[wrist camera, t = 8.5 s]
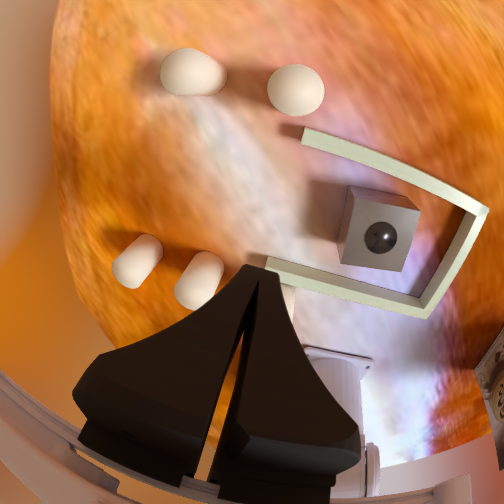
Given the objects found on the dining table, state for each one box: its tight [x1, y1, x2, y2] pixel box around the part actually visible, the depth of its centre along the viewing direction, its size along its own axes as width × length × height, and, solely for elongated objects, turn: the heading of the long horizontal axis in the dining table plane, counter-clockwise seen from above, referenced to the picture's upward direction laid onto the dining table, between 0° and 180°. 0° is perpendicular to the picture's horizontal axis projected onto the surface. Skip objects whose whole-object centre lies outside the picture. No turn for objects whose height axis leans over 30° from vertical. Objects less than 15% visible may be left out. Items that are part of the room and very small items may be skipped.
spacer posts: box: [112, 48, 324, 322], centre depth 17 cm, size 17×14×4 cm
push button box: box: [337, 185, 421, 272], centre depth 17 cm, size 4×4×3 cm
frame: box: [265, 127, 489, 320], centre depth 18 cm, size 11×15×2 cm
